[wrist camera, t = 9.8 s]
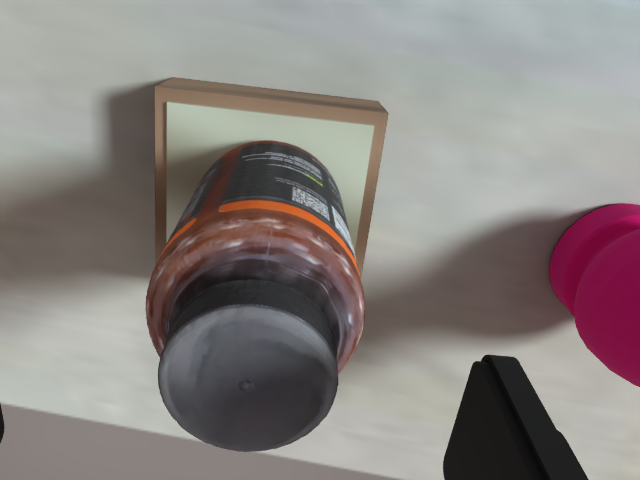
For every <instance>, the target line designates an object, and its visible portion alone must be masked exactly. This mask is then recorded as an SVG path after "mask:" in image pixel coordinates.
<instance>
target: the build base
mask: <svg viewBox="0 0 640 480" xmlns="http://www.w3.org/2000/svg"><path fill="white" fill-rule="evenodd" d="M388 114H389V113H388V112H387V111H386V110H385V109H384V107H383V106H382V105H381V104H380V103H379V101H371V100H362V99H354V98H345V97H337V96H328V95H319V94H311V93H302V92H294V91H285V90H277V89H268V88H260V87H251V86H242V85H234V84H225V83H217V82H208V81H200V80H191V79H183V78H174V77H172V78H171V79H169V80H167V81H165V82H163V83H161V84H159V85H157V86H155V211H156V264H157V262H158V260H159V258H160V256H161V254H162V252H163V250H164V248H165V246H166V243H167V242H168V240H169V238H170V236H171V234H172V233H173V231H174V229H175V227H176V225H177V223H178V221H179V219H180V218H181V216H182V214H183V212H184V210H185V209H186V206H187V205H188V203H189V201H190V200H191V198H192V196H193V194H194V192H195V190H196V188H197V186H198V185H199V183H200V181H201V180H202V178H203V176H204V175H205V173H206V172H207V171H208V170H209V168H210V167H211V166H212V165H213V163H214V162H215V161H216V160H217V159H218V158H220V157H221V156H222V155H223V154H225V153H227V152H228V151H230V150H232V149H234V148H236V147H238V146H241V145H243V144H247V143H250V142H255V141H263V140H273V141H279V142H285V143H289V144H291V145H295V146H297V147H300V148H302V149H303V150H305V151H307V152H309V153H311V154H312V155H313V156H314V157H316V158H317V159H318V160H319V161H320V162H321V163H322V164H323V165H324V166H325V167H326V168H327V169H328V171H329V173H330V174H331V175H332V177H333V179H334V181H335V183H336V185H337V187H338V190H339V193H340V196H341V199H342V203H343V206H344V211H345V215H346V219H347V223H348V228H349V232H350V236H351V240H352V245H353V249H354V253H355V257H356V261H357V265H358V269H359V274H360V278H361V275H362V269H363V263H364V257H365V251H366V245H367V239H368V233H369V227H370V221H371V215H372V209H373V203H374V197H375V191H376V186H377V180H378V174H379V168H380V162H381V156H382V150H383V144H384V138H385V132H386V126H387V120H388Z"/></svg>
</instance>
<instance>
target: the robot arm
mask: <svg viewBox="0 0 640 480" xmlns="http://www.w3.org/2000/svg"><path fill="white" fill-rule="evenodd" d="M3 434H4V421H3V415H2V410H1V405H0V443H1V440H2V438H3ZM443 472H444V478H445V480H588V478H587V476H586V474H585V472H584V471H583V469H582V467H581V465H580V464H579V462H578V460H577V458H576V456H575V455H574V453H573V451H572V449H571V448H570V446H569V444H568V442H567V440H566V439H565V438H564V436H563V435H562V433H561V432H559V431H558V430H556V428H555V426H554V424H553V422H552V421H551V419H550V417H549V415H548V413H547V412H546V410H545V408H544V406H543V404H542V403H541V401H540V399H539V397H538V395H537V394H536V392H535V390H534V388H533V386H532V385H531V383H530V381H529V379H528V377H527V375H526V374H525V372H524V370H523V368H522V366H521V365H520V363H519V361H518V360H517V359H516V358H514V357H508V356H496V355H485V356H484V357H483V358H482V360H481V362H480V361H476V362H474V363H473V365H472V368H471V371H470V374H469V378H468V381H467V384H466V387H465V391H464V394H463V397H462V401H461V404H460V407H459V410H458V414H457V417H456V420H455V424H454V427H453V430H452V433H451V437H450V440H449V443H448V447H447V450H446V453H445V456H444V462H443Z"/></svg>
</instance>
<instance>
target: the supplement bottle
mask: <svg viewBox="0 0 640 480" xmlns="http://www.w3.org/2000/svg"><path fill="white" fill-rule="evenodd" d="M146 319H147V325H148V328H149V334H150V337H151V339H152V342H153V345H154V347H155V349H156V351H157V353H158V355H159V357H160V362H159V368H158V385H159V389H160V394H161V396H162V399H163V402H164V404H165V406H166V408H167V409H168V411H169V413H170V414H171V416H172V417H173V419H175V420H176V421H177V422H178V424H179V425H180V426H181V427H182V428H183V429H184V430H186V431H187V432H188V433H190V434H192V435H193V436H195V437H196V438H198V439H200V440H202V441H203V442H205V443H208V444H212V445H214V446H216V447H220V448H224V449H228V450H235V451H242V452H249V451H264V450H270V449H276V448H279V447H282V446H284V445H288V444H290V443H292V442H294V441H296V440H298V439H300V438H301V437H304V436H306V435H307V434H308V433H310V432H311V431H312V430H313V429H314V428H316V427H317V426H318V425H319V424H320V422H321V421H322V420H323V419H324V418H325V417H326V416H327V414H328V412H329V411H330V408H331V406H332V405H333V402H334V398H335V396H336V392H337V386H338V374H340V372H341V371H342V370H343V369H344V368H345V366H346V365H347V364H348V363H349V361H350V359H351V357H352V355H353V354H354V352H355V350H356V348H357V346H358V343H359V340H360V338H361V335H362V331H363V326H364V320H365V301H364V293H363V287H362V283H361V278H360V274H359V269H358V265H357V261H356V257H355V253H354V249H353V245H352V240H351V236H350V232H349V228H348V223H347V219H346V215H345V211H344V206H343V203H342V199H341V196H340V193H339V190H338V187H337V185H336V183H335V181H334V179H333V177H332V175H331V174H330V173H329V171H328V169H327V168H326V167H325V166H324V165H323V164H322V163H321V162H320V161H319V160H318V159H317V158H316V157H314V156H313V155H312V154H311V153H309V152H307V151H305V150H303V149H302V148H300V147H297V146H295V145H291V144H289V143H285V142H279V141H273V140H263V141H255V142H250V143H247V144H243V145H241V146H238V147H236V148H234V149H232V150H230V151H228V152H227V153H225V154H223V155H222V156H221V157H220V158H218V159H217V160H216V161H215V162H214V163H213V165H212V166H211V167H210V168H209V170H208V171H207V172H206V173H205V175H204V176H203V178H202V180H201V181H200V183H199V185H198V186H197V188H196V190H195V192H194V194H193V196H192V198H191V200H190V201H189V203H188V205H187V206H186V209H185V210H184V212H183V214H182V216H181V218H180V219H179V221H178V223H177V225H176V227H175V229H174V231H173V233H172V234H171V236H170V238H169V240H168V242H167V243H166V246H165V248H164V250H163V252H162V254H161V256H160V258H159V260H158V262H157V264H156V266H155V268H154V270H153V273H152V276H151V279H150V282H149V287H148V290H147V296H146Z"/></svg>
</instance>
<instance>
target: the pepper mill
mask: <svg viewBox="0 0 640 480" xmlns="http://www.w3.org/2000/svg"><path fill="white" fill-rule="evenodd" d="M549 274H550V282H551V285H552V288H553V291H554V293H555V294H556V296H557V297H558V298H559V300H560V301H561V302H562V303H563V304H564V305H565V306H566V308H567V309H568V310H569V311H570V312H571V313H572V314H573V315H574V317H575V323H576V327H577V330H578V333H579V335H580V337H581V339H582V340H583V342H584V343H585V345H586V347H587V348H588V349H589V350H590V351H591V352H592V353H593V354H594V355H595V356H596V357H597V358H598V359H599V360H600V361H601V362H602V363H603V364H604V365H605V366H606V367H607V368H608V369H609V370H611V371H612V372H614V373H616V374H617V375H619V376H621V377H622V378H624V379H626V380H627V381H629V382H631V383H632V384H634V385H636V386H639V387H640V205H635V204H615V205H610V206H606V207H602V208H599V209H597V210H595V211H593V212H591V213H589V214H587V215H585V216H583V217H582V218H580V219H579V220H578V221H576V222H575V223H574V224H573V225H572V226H571V227H570V228H569V229H568V230H567V231H566V232H565V233H564V235H563V236H562V237H561V239H560V240H559V242H558V243H557V245H556V247H555V249H554V252H553V255H552V257H551V261H550V269H549Z"/></svg>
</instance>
